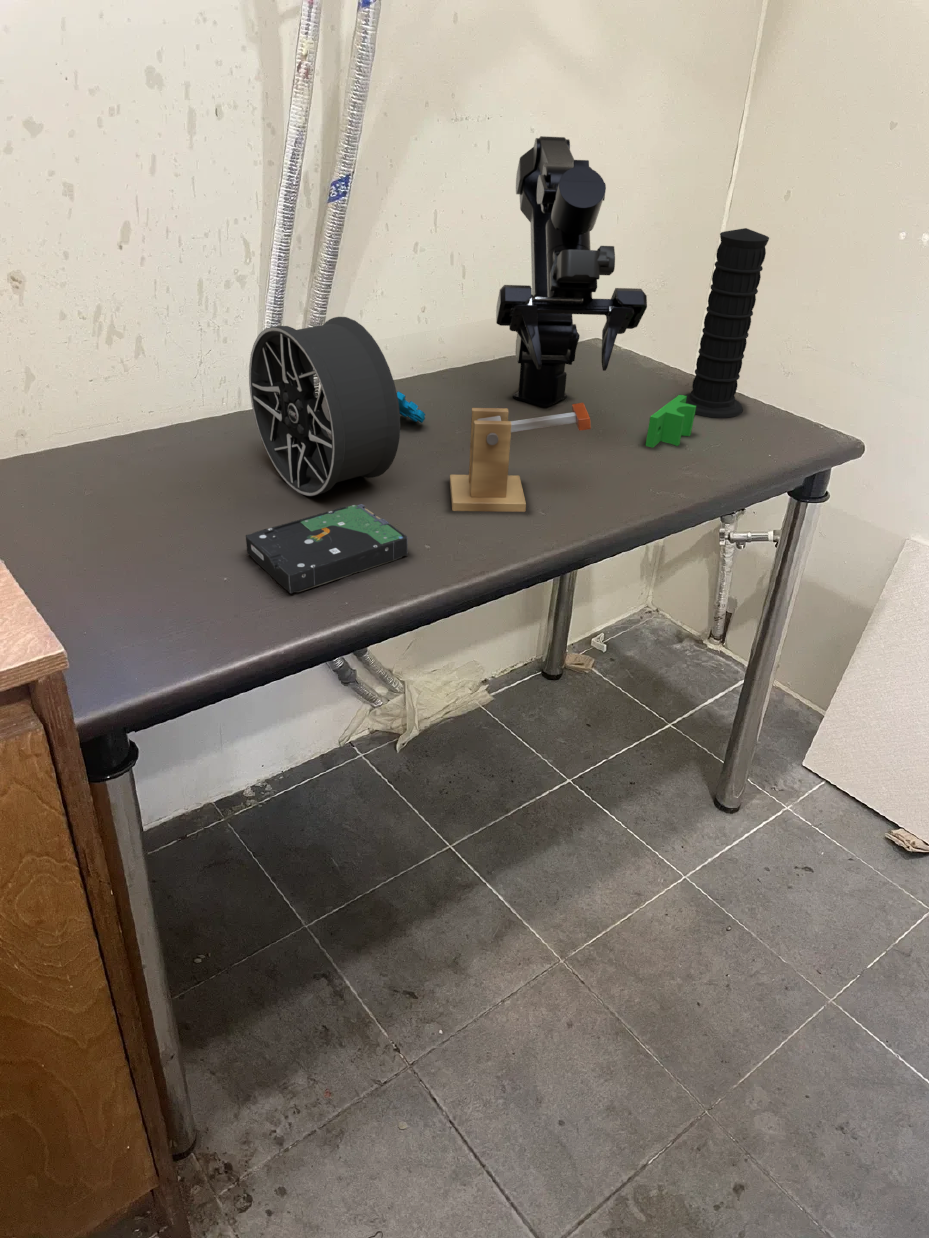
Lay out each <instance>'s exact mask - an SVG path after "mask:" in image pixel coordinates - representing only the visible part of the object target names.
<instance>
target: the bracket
mask: <svg viewBox="0 0 929 1238" xmlns="http://www.w3.org/2000/svg"><path fill="white" fill-rule="evenodd" d="M495 416H500V417H501V421H478V419H481V418H488V417H495ZM470 419H471V420H470V439H469V460H468V461H469V462H468V474H449V491H450V502H451V511H453V512H507V513H508V512H510V513H511V512H513V513H515V512H517V513H518V512H519V513H525V512H526V509H527V503H526V502H527V501H526V498H525V494H524V490H523V485H522V481H521V477H520V475H509V465H510V454H511V453H510V450H511V440H512V439H511V437H512V432H511V426H512V424H511V421H512V420H509V408H505V407H503V408H501V407H498V408H497V407H471V417H470Z"/></svg>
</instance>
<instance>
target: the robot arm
mask: <svg viewBox="0 0 929 1238" xmlns="http://www.w3.org/2000/svg"><path fill="white" fill-rule="evenodd" d="M515 175H516V177H515V194H516V195H519V209H520V211H521V213H522V214H523V216H524V217H525V218H526V219H527V221H528V222H529V225H530V260H531V262H530V263H531V285H521V284H503V285H502V286H501V288H499V291H498V296H497V302H496V309H495V311H496V312H495V318H496V319H495V322H496V325H498V326H501V327H508V328H509V331H511V332H516V338H515V351H514V352H515V358H516V361H517V362H516V363H517V364H520V365H519V367H520V369H519V380H518V381H519V382H518V391H517V392H515V393H513V394H512V399H515V400H518V401H522V402H525V403H527V404H532V405H535V406H538V407H542V408H549V407H551V406H553V405H555V404H557V403H559V402H561V401H563V400H565V399H567V397H568V394H567V393H566V384H567V372H566V370H565V369H566V365H568V366H572V365H573V362H575V361H576V360H575V359H576V352H577V348H578V344H579V340H580V334H579V332H578V329H577V328H578V327H577V324H576V323H574V322H573V321H574V320H573V315H586V316H588V315H589V316H591V315H592V316H605V317H606V321H605V324H604V325H603V328H602V330H601V331H602V332H601V361H600V362H601V367H602V369H601V370H602V371H603V372H606V371H607V369H608V367H609V363H610V360H611V357H612V354H613V350H614V346H615V343H616V340H617V336H618V335H623V334H625V333H626V331H627V330H633V329H635V328H637V327H639V324H640V322H641V320H642V318H643V316H644V314H645V312H646V310H647V308H648V297H647V294H646V293H645V291H644V290H643V289H642V288H632V287H631V288H629V287H628V288H627V287H615V288H614V290H613V293H612V295H611V297H610V298H593V293H596V292H597V289H598V280H600V277H601V276H611V275H612V274H613V273H614V272H615V267H616V252H615V246H614V245H599V247H598V248H597V250H595V249H591V232H592V231H593V229H594V227H595V225H596V223H597V219H598V217H599V215H600V214H599V213H600V210H601V207H602V204H603V202H604V201H605V198H606V197H605V196H606V191H607V185H606V182H605V181H604V179H603V177H602V176H601V174H600V173H598V171H596V170H595V169H593V168H592V167H591V166H590V160H588V159H575V158H574V156H573V154H572V151H571V141H570V139H569V138H567V139H566V137H565V136H545V135H543V136H539V137H535V139H534V144H533V147H531V148H530V149H529V150H527V151H526V152H525V153H524V154H523V155H521V156H520V157H519V160H518V164H517V169H516V174H515Z"/></svg>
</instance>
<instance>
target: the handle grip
mask: <svg viewBox="0 0 929 1238" xmlns="http://www.w3.org/2000/svg"><path fill="white" fill-rule="evenodd" d="M719 237H720V238H719V239H720V243H719V245H718V247H717V249H716V253H715V256H716V261H715V263H714V267H715V268H714V269H713V272H712V276H711V282H712V284H710V292H709V294H708V298H707V306H706V314H705V316H704V320H703V328H702V329H701V330H702V333H703V334H702V335H701V337H700V341H699V347H700V348H699V349H698V356H697V358H696V363H695V366H696V368H695V370H694V374H695V376H694V378H693V380H692V385H691V387H692V390H690V393H687V394H683V395H684V396H687V398H686V404H690V405H694V406H696V410H695V415H698V416H701V417H707V418H716V419H725V418H727V419H728V418H734V417H738V416H739V415H741V414H742V413H743V412H744V408H743V404H742V403H741V402H740V401H739V400H737V399H736V396H735V395H736V393H737V390H738V386H739V385H738V380H739V379H740V377H741V375H740V373H741V371H742V366H743V360H744V358H745V353H744V352H745V351H746V348H747V343H748V342H747V338H748V337H749V335H750V334H749V331H750V329H751V324H752V316H753V315H754V312H753V310H754V308H755V305H756V302H757V296H756V295H757V294H758V292H759V290H758V287H759V285H760V282H761V277H762V276H761V272H762V271H763V266H762V265H763V263H764V262H765V259H766V254H767V252H766V250H767V249H766V246H767V245H768V242H769V240H770V237H769V236H768V235H765V234H763V233H760V232H757V231H755V230H753V229H750V228H747V227H744V228H737V229H732V230H731V229H730V230H724V231H722V232H720V233H719Z"/></svg>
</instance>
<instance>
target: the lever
mask: <svg viewBox="0 0 929 1238" xmlns="http://www.w3.org/2000/svg"><path fill="white" fill-rule="evenodd" d="M585 405H586V404H585V403H584V402H579V403H573V404H571V411H572V412H571V411H570V412H566V413H560V414H559V413H557V414H551V415H544V416H538V417H531V418H525V419H518V420H510V421H511V424H512V426H511V433H515V432H522V431H523V432H524V431H529V430H530V431H531V430H536V429H543V428H550V427H557V426H565V425H570V424H576V427H577V429H578V431H579V432H580V431H587V430H591V429H592V424H591V423H592V422H591V417H590V414H589V412H588V410H587V408H586V406H585ZM478 421H501V417H500V416H495V417H488V418H481V419H478Z"/></svg>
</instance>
